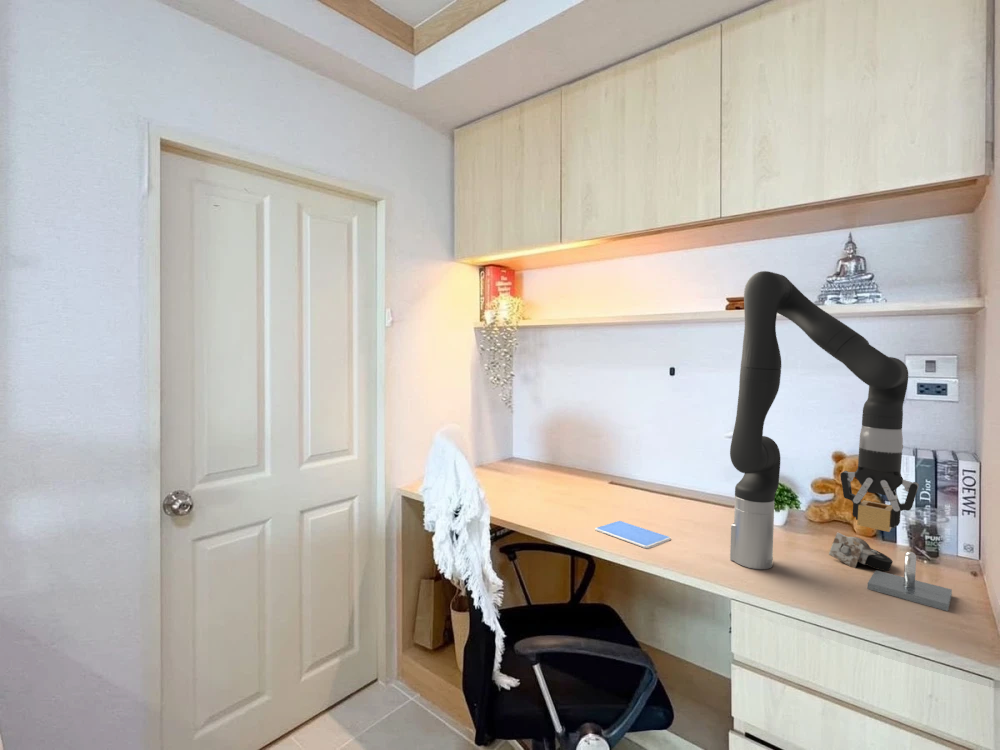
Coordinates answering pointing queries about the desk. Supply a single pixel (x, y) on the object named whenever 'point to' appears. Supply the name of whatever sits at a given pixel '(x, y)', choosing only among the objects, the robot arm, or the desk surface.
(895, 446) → the robot arm
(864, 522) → the tan slotted block
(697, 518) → the desk surface
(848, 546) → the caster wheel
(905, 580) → the post block
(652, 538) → the tablet computer
